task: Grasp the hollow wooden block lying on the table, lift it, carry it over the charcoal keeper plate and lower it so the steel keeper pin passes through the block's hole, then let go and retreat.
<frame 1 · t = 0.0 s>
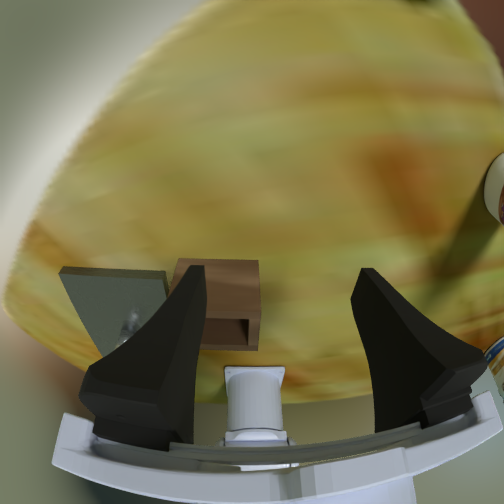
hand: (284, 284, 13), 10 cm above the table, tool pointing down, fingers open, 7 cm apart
milk bottle: (502, 181, 19), on the table
beverage bottle: (496, 345, 40), on the table
hollow wooden block: (219, 280, 26), on the table
keeper plate: (130, 327, 30), on the table
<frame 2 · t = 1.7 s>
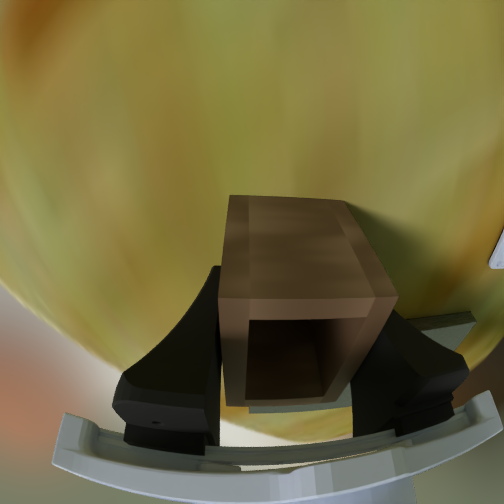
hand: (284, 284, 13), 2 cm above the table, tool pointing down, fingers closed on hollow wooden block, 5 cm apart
hollow wooden block: (280, 262, 14), on the table, touching gripper
keeper plate: (359, 367, 21), on the table
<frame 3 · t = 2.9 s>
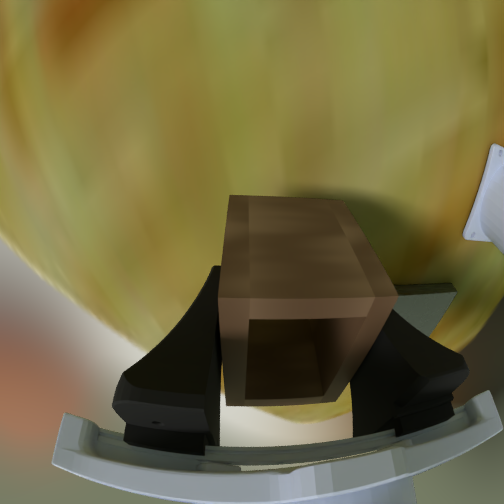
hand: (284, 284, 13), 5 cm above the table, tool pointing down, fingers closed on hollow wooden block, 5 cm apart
hollow wooden block: (280, 261, 14), point 4 cm above the table, touching gripper
keeper plate: (349, 334, 24), on the table
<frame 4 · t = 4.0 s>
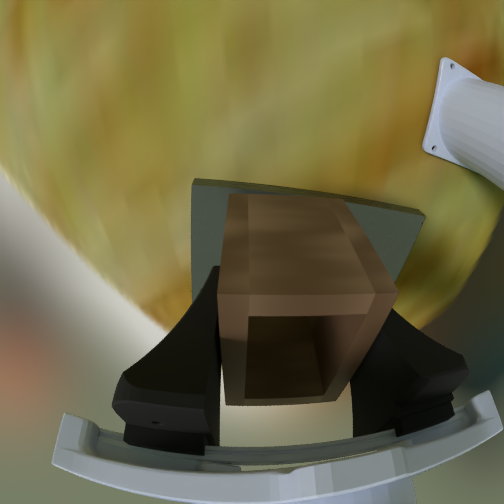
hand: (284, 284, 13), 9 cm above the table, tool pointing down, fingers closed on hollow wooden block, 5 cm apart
hollow wooden block: (280, 260, 14), point 7 cm above the table, touching gripper
keeper plate: (303, 258, 23), on the table
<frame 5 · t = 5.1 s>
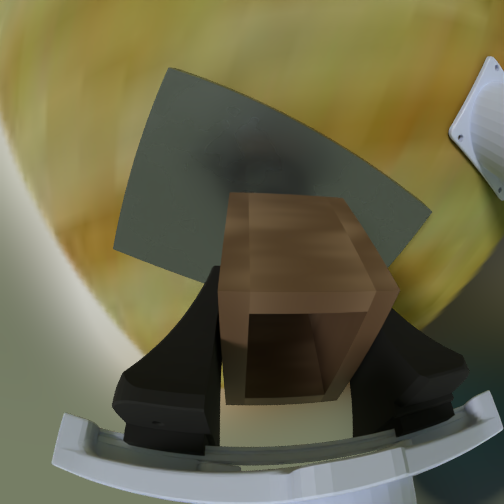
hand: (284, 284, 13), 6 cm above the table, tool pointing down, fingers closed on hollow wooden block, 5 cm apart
hollow wooden block: (280, 259, 14), point 4 cm above the table, touching gripper
keeper plate: (273, 217, 17), on the table
when the fingers open (4 cm above the table, at t = 6.2 s): hollow wooden block stays where it is, resting on keeper plate.
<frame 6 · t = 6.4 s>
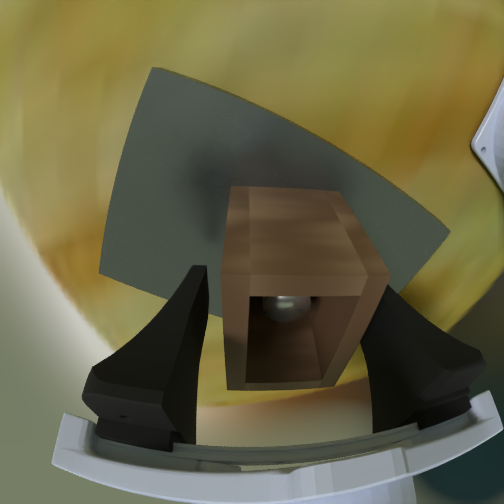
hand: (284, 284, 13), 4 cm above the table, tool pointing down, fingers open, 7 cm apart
hollow wooden block: (279, 250, 14), point 1 cm above the table, touching keeper plate
keeper plate: (277, 239, 15), on the table
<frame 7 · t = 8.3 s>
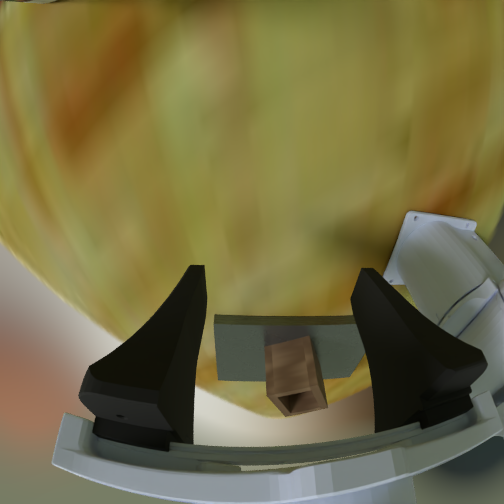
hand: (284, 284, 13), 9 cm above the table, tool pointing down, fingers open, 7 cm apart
hollow wooden block: (294, 357, 31), point 1 cm above the table, touching keeper plate
keeper plate: (293, 349, 32), on the table
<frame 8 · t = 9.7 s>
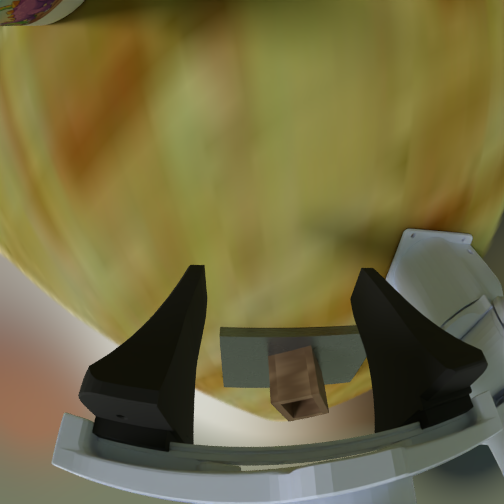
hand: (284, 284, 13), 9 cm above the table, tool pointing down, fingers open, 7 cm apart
hollow wooden block: (296, 365, 32), point 1 cm above the table, touching keeper plate
keeper plate: (295, 357, 33), on the table
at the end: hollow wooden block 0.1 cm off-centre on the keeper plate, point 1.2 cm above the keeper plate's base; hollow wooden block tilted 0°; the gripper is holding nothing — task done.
